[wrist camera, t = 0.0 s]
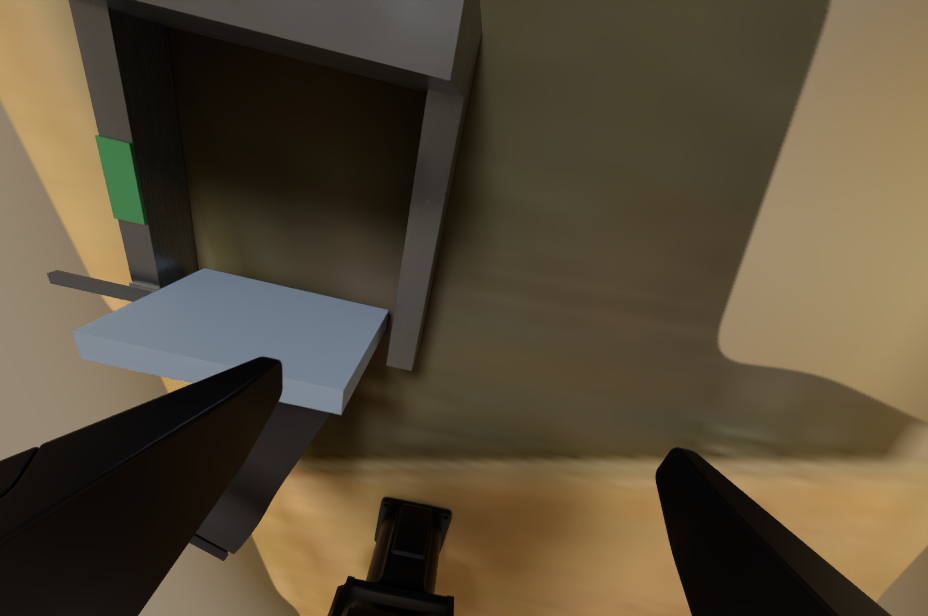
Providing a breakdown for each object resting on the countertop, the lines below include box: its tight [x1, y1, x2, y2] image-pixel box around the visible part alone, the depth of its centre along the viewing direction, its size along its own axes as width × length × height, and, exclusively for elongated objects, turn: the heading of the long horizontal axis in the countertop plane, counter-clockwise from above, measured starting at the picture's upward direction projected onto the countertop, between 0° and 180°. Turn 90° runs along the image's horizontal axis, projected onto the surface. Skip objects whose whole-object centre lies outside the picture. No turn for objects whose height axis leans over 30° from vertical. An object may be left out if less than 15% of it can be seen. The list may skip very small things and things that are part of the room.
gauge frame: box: [69, 0, 482, 371], centre depth 16 cm, size 18×17×9 cm
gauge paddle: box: [47, 268, 389, 415], centre depth 20 cm, size 2×18×8 cm, turn 78°
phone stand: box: [189, 402, 331, 561], centre depth 21 cm, size 9×6×12 cm, turn 133°
